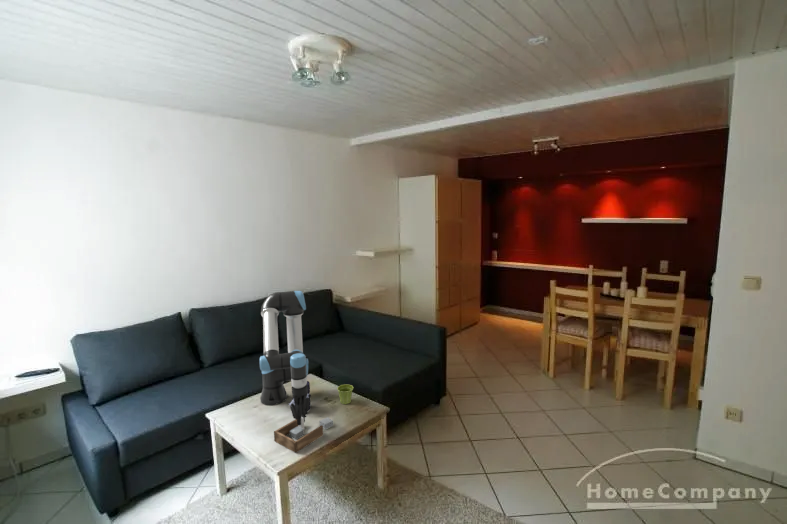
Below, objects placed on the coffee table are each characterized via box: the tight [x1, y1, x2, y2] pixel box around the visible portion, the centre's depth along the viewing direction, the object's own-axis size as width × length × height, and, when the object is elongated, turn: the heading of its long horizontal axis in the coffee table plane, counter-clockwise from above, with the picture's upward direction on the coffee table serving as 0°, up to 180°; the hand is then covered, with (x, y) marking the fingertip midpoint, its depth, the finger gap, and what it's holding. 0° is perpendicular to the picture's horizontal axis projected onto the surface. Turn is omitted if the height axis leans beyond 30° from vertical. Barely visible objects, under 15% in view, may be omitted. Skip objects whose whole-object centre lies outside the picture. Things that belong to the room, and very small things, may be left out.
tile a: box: [288, 426, 305, 440], centre depth 185 cm, size 5×5×3 cm
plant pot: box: [336, 383, 354, 405], centre depth 218 cm, size 9×9×9 cm
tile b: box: [319, 416, 334, 431], centre depth 194 cm, size 5×5×3 cm
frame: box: [273, 419, 324, 454], centre depth 183 cm, size 16×17×5 cm
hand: (301, 429), depth 188 cm, fingers closed
